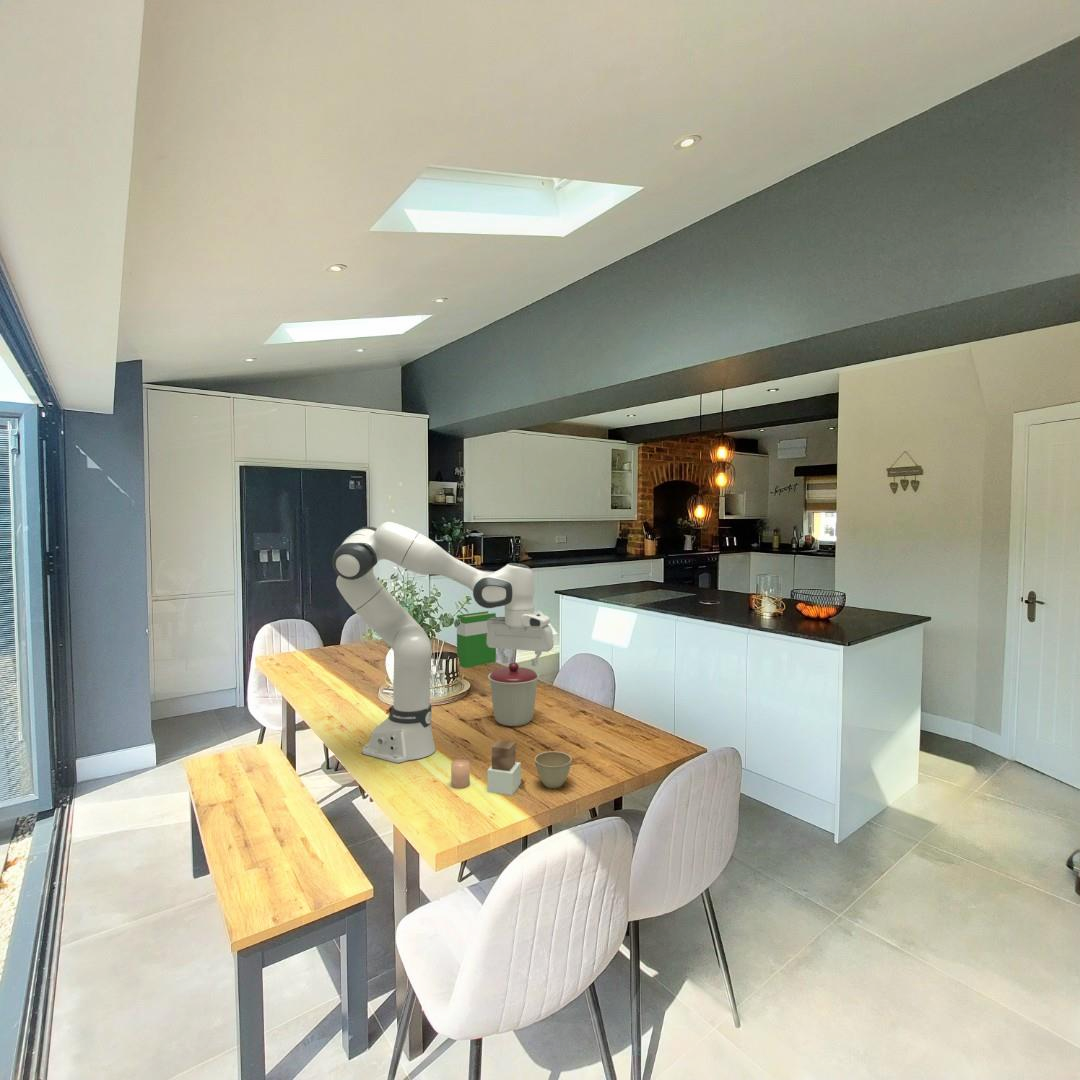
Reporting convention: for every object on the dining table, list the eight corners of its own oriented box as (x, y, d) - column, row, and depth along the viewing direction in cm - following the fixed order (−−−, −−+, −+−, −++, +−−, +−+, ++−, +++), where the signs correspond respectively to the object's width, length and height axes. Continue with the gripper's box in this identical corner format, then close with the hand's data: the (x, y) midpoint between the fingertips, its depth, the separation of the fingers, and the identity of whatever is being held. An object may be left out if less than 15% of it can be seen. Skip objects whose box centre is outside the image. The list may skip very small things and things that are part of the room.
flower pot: (540, 774, 170) (540, 749, 170) (575, 778, 167) (575, 753, 167) (530, 789, 161) (530, 763, 160) (566, 795, 158) (566, 768, 157)
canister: (496, 711, 223) (495, 655, 222) (543, 714, 219) (543, 657, 218) (481, 728, 205) (481, 667, 204) (533, 732, 201) (533, 670, 200)
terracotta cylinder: (448, 787, 162) (447, 765, 162) (456, 779, 167) (456, 758, 166) (465, 790, 161) (464, 768, 160) (472, 781, 165) (472, 760, 165)
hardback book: (487, 658, 300) (487, 611, 299) (495, 661, 295) (495, 613, 293) (457, 664, 289) (456, 615, 288) (465, 667, 283) (465, 617, 282)
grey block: (487, 792, 160) (487, 770, 159) (496, 780, 166) (496, 759, 166) (512, 795, 158) (512, 773, 157) (520, 784, 164) (520, 762, 164)
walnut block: (491, 769, 160) (491, 746, 160) (498, 761, 165) (498, 740, 164) (509, 771, 158) (509, 749, 158) (515, 763, 163) (515, 742, 163)
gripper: (482, 617, 177) (483, 663, 178) (548, 621, 171) (548, 669, 172) (491, 614, 183) (491, 658, 184) (555, 617, 177) (555, 664, 178)
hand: (519, 664), depth 178 cm, fingers open, 8 cm apart
